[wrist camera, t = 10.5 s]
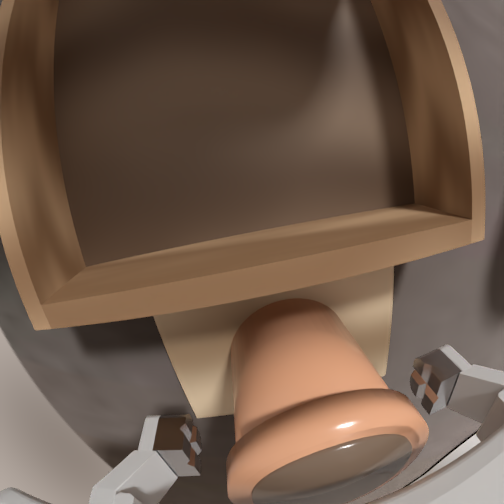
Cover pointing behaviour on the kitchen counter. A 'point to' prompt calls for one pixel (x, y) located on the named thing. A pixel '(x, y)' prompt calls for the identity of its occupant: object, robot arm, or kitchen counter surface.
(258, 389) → the pot
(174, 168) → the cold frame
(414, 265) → the kitchen counter surface
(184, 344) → the cork mat
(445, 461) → the robot arm
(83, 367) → the kitchen counter surface
